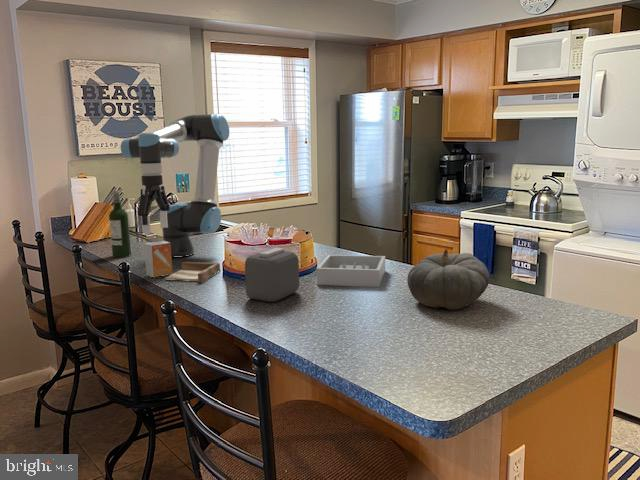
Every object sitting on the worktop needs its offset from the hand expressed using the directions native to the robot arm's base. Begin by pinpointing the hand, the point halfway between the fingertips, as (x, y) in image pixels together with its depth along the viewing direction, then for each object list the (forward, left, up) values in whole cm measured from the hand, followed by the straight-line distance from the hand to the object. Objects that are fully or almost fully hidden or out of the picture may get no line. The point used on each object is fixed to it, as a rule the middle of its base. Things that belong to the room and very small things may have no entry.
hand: (155, 230), depth 211 cm
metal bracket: (-6, +75, -19) cm, 78 cm away
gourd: (+21, +109, -18) cm, 112 cm away
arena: (0, +13, -18) cm, 22 cm away
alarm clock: (+21, +53, -18) cm, 60 cm away
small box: (0, 0, -18) cm, 18 cm away
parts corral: (-6, +75, -18) cm, 77 cm away
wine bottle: (-31, -35, -18) cm, 50 cm away
